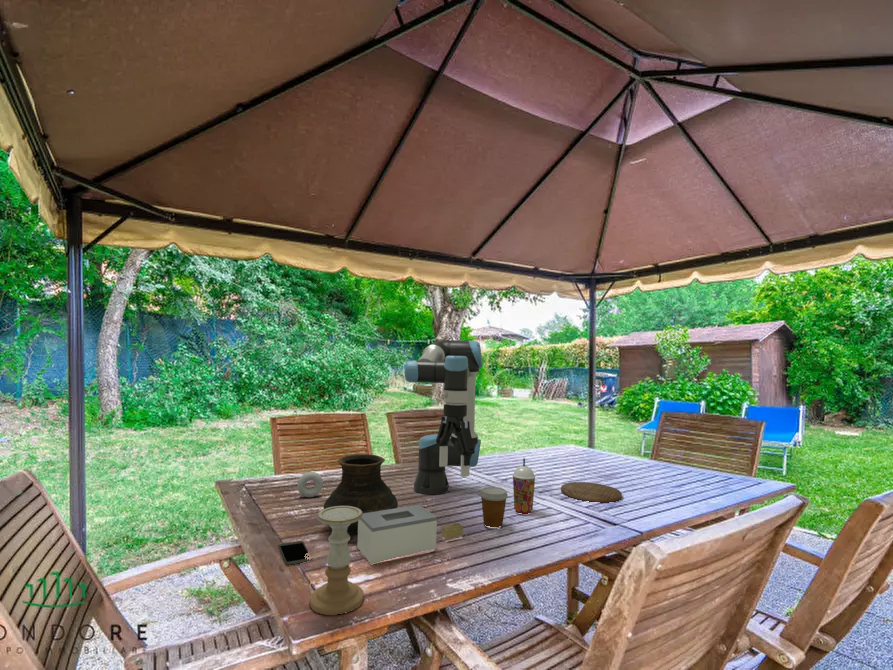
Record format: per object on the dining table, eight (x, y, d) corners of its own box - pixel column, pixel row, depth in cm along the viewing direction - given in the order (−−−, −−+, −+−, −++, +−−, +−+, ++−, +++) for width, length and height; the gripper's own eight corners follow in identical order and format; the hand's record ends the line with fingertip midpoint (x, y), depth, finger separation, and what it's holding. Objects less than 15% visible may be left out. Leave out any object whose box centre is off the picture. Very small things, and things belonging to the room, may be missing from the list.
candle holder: (297, 608, 100) (301, 517, 101) (330, 583, 111) (333, 501, 112) (344, 621, 95) (347, 526, 96) (373, 593, 107) (376, 508, 108)
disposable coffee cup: (489, 533, 145) (489, 496, 146) (474, 523, 154) (474, 488, 154) (512, 528, 150) (513, 492, 150) (496, 519, 158) (497, 485, 159)
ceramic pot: (308, 528, 146) (310, 459, 147) (364, 510, 164) (366, 448, 165) (355, 550, 130) (358, 472, 132) (411, 526, 149) (413, 459, 150)
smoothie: (507, 512, 166) (508, 458, 167) (520, 507, 172) (520, 455, 173) (526, 518, 160) (527, 462, 161) (538, 512, 166) (539, 458, 167)
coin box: (418, 536, 141) (419, 504, 142) (435, 551, 131) (436, 517, 131) (357, 548, 131) (358, 514, 132) (371, 565, 121) (372, 528, 121)
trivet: (615, 508, 174) (615, 503, 174) (553, 496, 188) (553, 492, 188) (626, 492, 196) (626, 488, 196) (570, 483, 209) (570, 479, 209)
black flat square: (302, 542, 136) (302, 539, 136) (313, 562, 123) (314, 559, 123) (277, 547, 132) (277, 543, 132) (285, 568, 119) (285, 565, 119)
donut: (322, 494, 181) (323, 470, 181) (323, 497, 177) (323, 472, 178) (296, 496, 177) (297, 471, 178) (296, 499, 174) (297, 473, 175)
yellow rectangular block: (457, 535, 143) (458, 523, 143) (462, 539, 141) (462, 526, 141) (441, 539, 140) (441, 526, 140) (446, 542, 138) (446, 529, 138)
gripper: (427, 400, 151) (425, 463, 150) (465, 408, 130) (464, 482, 129) (446, 399, 155) (444, 461, 154) (487, 407, 133) (485, 479, 132)
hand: (453, 471), depth 141 cm, fingers open, 13 cm apart
